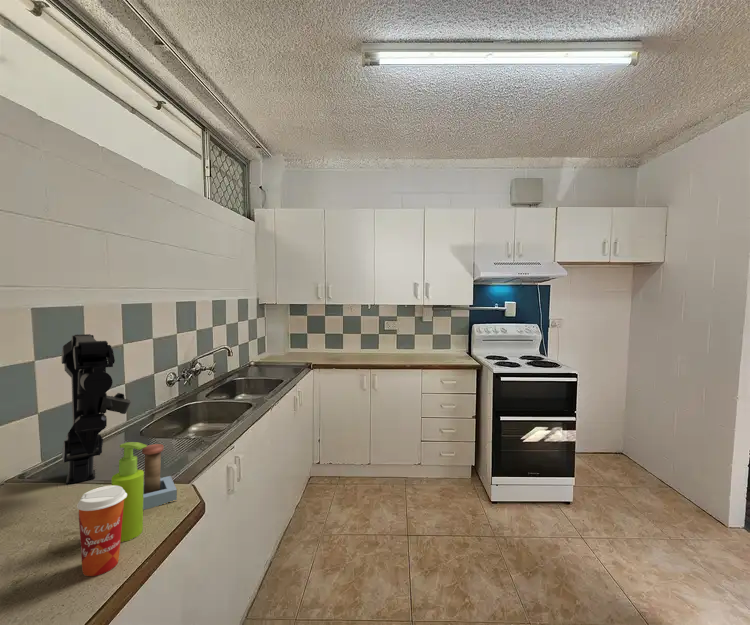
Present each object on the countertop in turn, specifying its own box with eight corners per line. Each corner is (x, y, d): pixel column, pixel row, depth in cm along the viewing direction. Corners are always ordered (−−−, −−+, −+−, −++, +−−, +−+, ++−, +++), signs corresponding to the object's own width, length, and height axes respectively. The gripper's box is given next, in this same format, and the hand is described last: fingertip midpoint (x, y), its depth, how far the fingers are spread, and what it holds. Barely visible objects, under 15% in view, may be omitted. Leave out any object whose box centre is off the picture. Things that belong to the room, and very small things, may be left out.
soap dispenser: (130, 544, 77) (132, 449, 78) (103, 540, 79) (105, 446, 79) (152, 529, 83) (154, 440, 83) (127, 525, 85) (128, 437, 85)
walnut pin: (136, 501, 95) (137, 449, 95) (154, 493, 100) (155, 443, 100) (149, 505, 93) (150, 451, 94) (166, 496, 98) (167, 445, 98)
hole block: (127, 496, 97) (127, 485, 98) (170, 486, 104) (170, 475, 104) (130, 513, 90) (130, 500, 90) (176, 501, 96) (176, 489, 96)
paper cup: (70, 585, 66) (71, 507, 66) (80, 560, 72) (82, 488, 73) (123, 572, 69) (124, 497, 69) (128, 549, 76) (129, 481, 76)
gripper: (131, 391, 94) (130, 452, 94) (126, 380, 109) (125, 433, 109) (75, 396, 87) (73, 462, 87) (77, 384, 102) (76, 440, 102)
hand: (90, 448), depth 97 cm, fingers open, 9 cm apart
